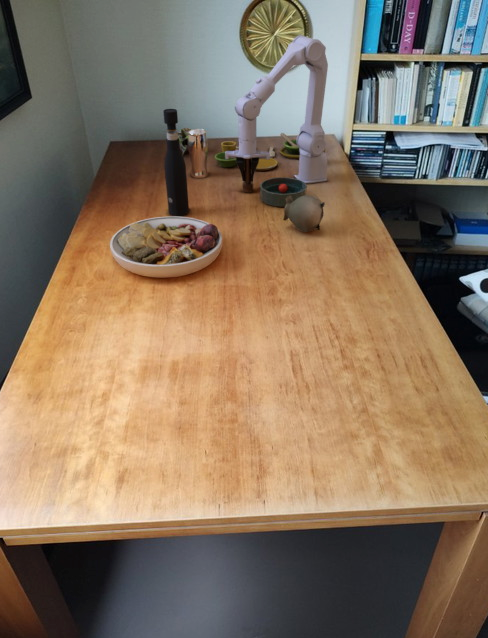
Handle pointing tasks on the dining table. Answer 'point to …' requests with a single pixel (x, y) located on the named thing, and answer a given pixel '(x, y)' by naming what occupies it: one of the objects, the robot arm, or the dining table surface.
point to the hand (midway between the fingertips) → (247, 180)
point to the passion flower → (183, 139)
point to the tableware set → (288, 151)
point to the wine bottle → (175, 168)
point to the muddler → (247, 176)
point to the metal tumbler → (198, 152)
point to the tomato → (283, 188)
